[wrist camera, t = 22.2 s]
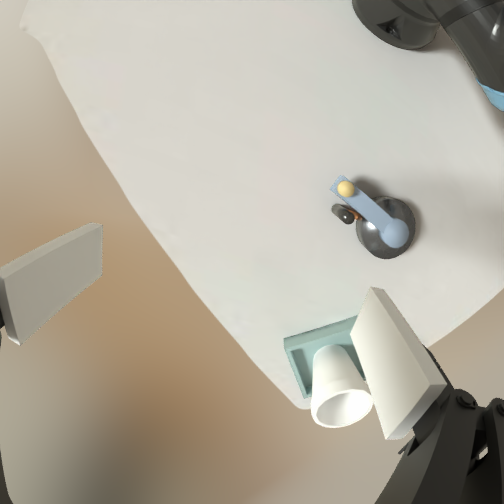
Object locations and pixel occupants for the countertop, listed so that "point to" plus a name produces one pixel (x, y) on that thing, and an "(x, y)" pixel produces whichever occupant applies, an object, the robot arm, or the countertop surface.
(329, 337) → the tray
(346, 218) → the crank base
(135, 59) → the countertop surface
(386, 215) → the crank
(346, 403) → the foam cup
